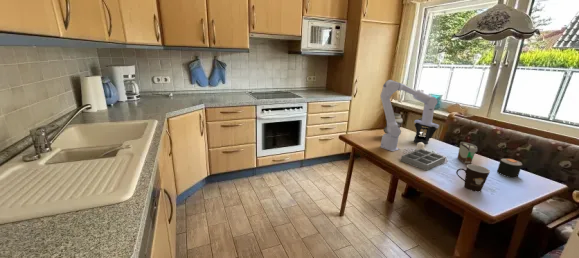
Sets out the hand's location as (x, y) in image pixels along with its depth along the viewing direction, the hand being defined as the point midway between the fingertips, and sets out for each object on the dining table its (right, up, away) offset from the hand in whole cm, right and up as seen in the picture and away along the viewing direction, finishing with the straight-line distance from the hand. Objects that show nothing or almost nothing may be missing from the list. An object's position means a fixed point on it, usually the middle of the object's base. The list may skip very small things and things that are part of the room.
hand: (424, 136), depth 156 cm
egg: (-1, -9, +4) cm, 10 cm away
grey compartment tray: (-8, -14, -13) cm, 21 cm away
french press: (+9, -5, +20) cm, 23 cm away
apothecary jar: (-10, -2, +27) cm, 29 cm away
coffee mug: (-1, -23, -40) cm, 46 cm away
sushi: (+31, -19, -25) cm, 44 cm away
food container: (+20, -15, -10) cm, 26 cm away
